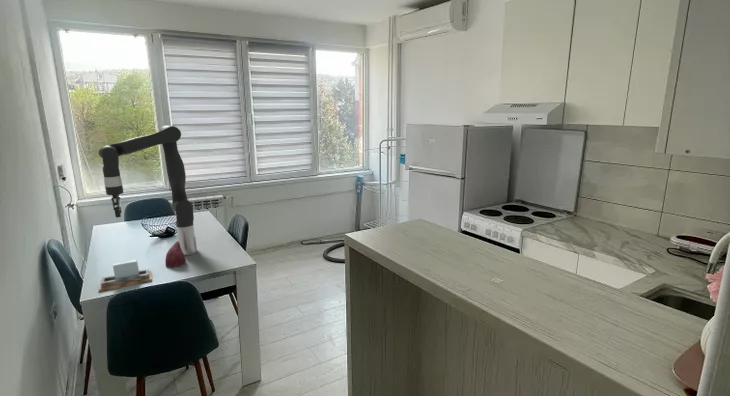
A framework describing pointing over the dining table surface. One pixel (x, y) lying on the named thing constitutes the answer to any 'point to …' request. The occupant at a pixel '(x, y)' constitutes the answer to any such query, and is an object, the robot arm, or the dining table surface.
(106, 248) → the dining table surface
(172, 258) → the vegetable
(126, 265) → the door panel
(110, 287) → the track board
